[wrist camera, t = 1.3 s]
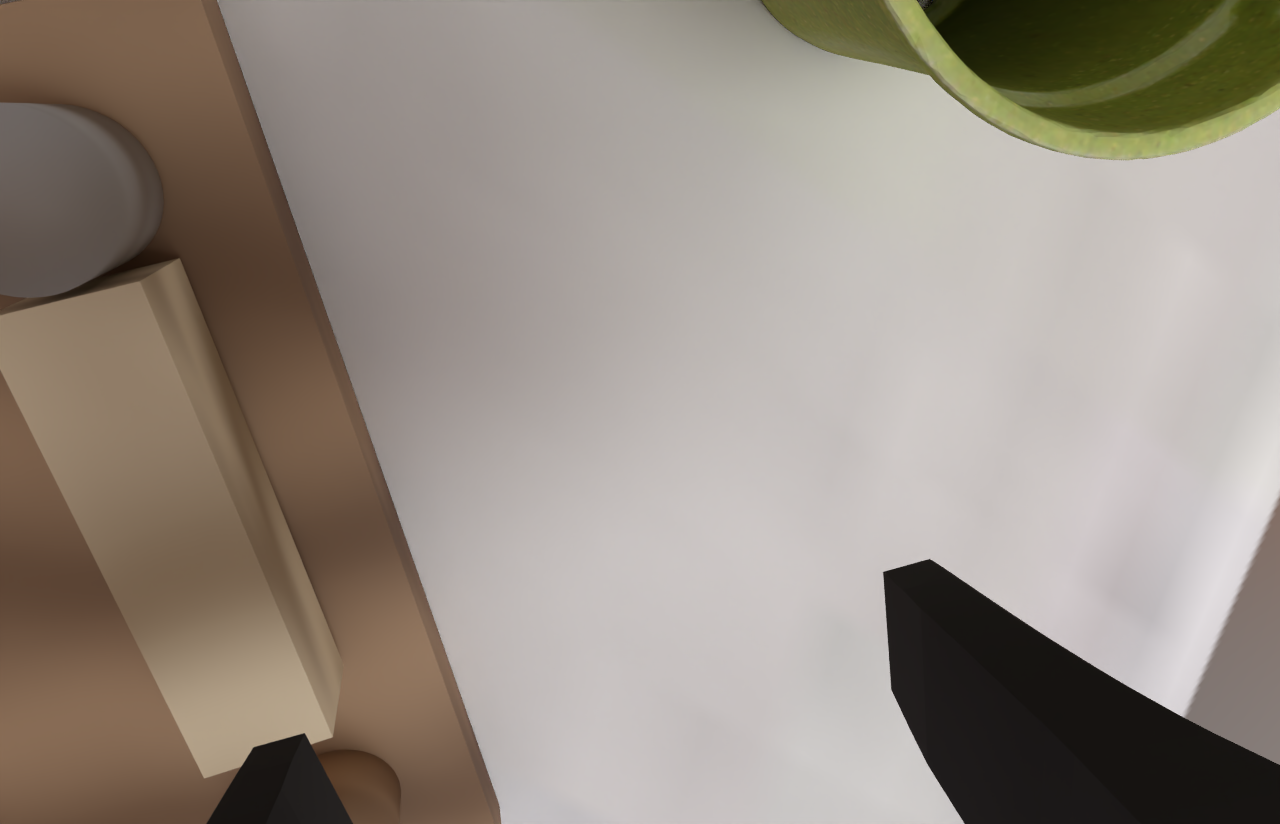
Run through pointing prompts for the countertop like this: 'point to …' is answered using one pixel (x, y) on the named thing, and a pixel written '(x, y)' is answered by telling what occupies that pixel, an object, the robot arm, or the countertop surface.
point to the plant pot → (1073, 64)
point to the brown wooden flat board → (284, 437)
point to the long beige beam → (153, 441)
